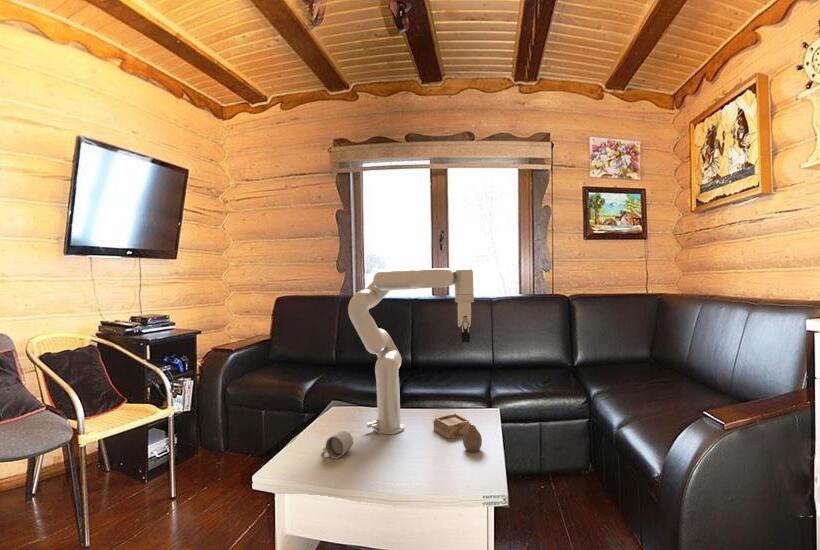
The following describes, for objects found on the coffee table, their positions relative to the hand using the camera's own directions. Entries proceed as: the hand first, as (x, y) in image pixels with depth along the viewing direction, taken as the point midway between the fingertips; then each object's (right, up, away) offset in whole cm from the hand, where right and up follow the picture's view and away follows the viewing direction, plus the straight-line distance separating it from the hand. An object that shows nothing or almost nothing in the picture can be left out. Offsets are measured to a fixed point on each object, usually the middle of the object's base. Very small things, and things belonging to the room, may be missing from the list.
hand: (465, 340), depth 166 cm
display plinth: (-5, -37, 0) cm, 38 cm away
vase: (0, -38, -18) cm, 41 cm away
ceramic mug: (-50, -39, -17) cm, 65 cm away
